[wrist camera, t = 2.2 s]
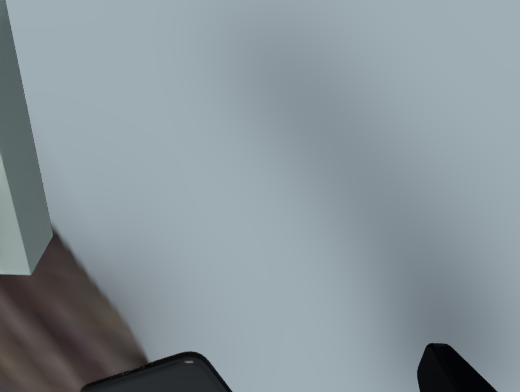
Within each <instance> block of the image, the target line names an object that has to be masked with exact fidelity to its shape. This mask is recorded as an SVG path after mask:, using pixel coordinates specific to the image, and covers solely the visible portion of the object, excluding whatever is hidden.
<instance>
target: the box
mask: <svg viewBox="0 0 520 392" xmlns="http://www.w3.org/2000/svg"><path fill="white" fill-rule="evenodd" d="M52 237H53V232H52V227H51V223H50V218H49V213H48V208H47V203H46V198H45V193H44V189H43V183H42V179H41V173H40V169H39V164H38V159H37V154H36V149H35V144H34V139H33V135H32V129H31V124H30V120H29V114H28V110H27V105H26V100H25V95H24V90H23V85H22V80H21V75H20V70H19V65H18V60H17V55H16V50H15V46H14V41H13V36H12V31H11V26H10V21H9V16H8V11H7V7H6V1H5V0H0V274H13V275H31V274H32V272H33V271H34V269H35V267H36V265H37V263H38V262H39V260H40V258H41V256H42V255H43V253H44V251H45V249H46V247H47V246H48V244H49V242H50V240H51V239H52Z"/></svg>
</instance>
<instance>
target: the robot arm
mask: <svg viewBox="0 0 520 392" xmlns="http://www.w3.org/2000/svg"><path fill="white" fill-rule="evenodd" d="M417 378H418V384H419V389H420V392H497V391H496V390H495V389H494V388H493V387H492V386H491V385H490V384H489V383H488V382H487V381H486V380H485V379H484V378H483V377H482V376H481V375H480V374H479V373H478V372H477V371H476V370H475V369H474V368H473V367H472V366H471V365H470V364H469V363H468V362H466V361H465V360H464V359H463V358H462V357H461V356H460V355H459V354H458V353H457V352H456V351H455V350H454V349H453V348H452V347H451V346H449V345H448V344H443V343H442V344H441V343H430V344H428V345H427V346H426V348H425V351H424V353H423V356H422V358H421V361H420V363H419V366H418V370H417Z"/></svg>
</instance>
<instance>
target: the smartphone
mask: <svg viewBox="0 0 520 392" xmlns="http://www.w3.org/2000/svg"><path fill="white" fill-rule="evenodd" d="M80 392H232V390H231V389H230V388H229V386H228V385H227V384H226V383H225V381H224V380H223V379H222V377H221V376H220V375H219V373H218V372H217V371H216V370H215V368H214V367H213V366H212V364H211V363H210V362H209V360H208V359H207V358H206V357H204V356H203V355H202V354H200V353H198V352H192V351H187V352H181V353H178V354H175V355H172V356H169V357H165V358H162V359H159V360H156V361H153V362H150V364H148V365H145V366H142V367H140V368H139V370H138V371H136V372H133V373H131V372H130V371H126V372H123V373H120V374H117V375H114V376H111V377H108V378H105V379H102V380H99V381H95V382H92V383H90V384H87V385H85V386H84V387H83V388H82V389H81V391H80Z"/></svg>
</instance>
